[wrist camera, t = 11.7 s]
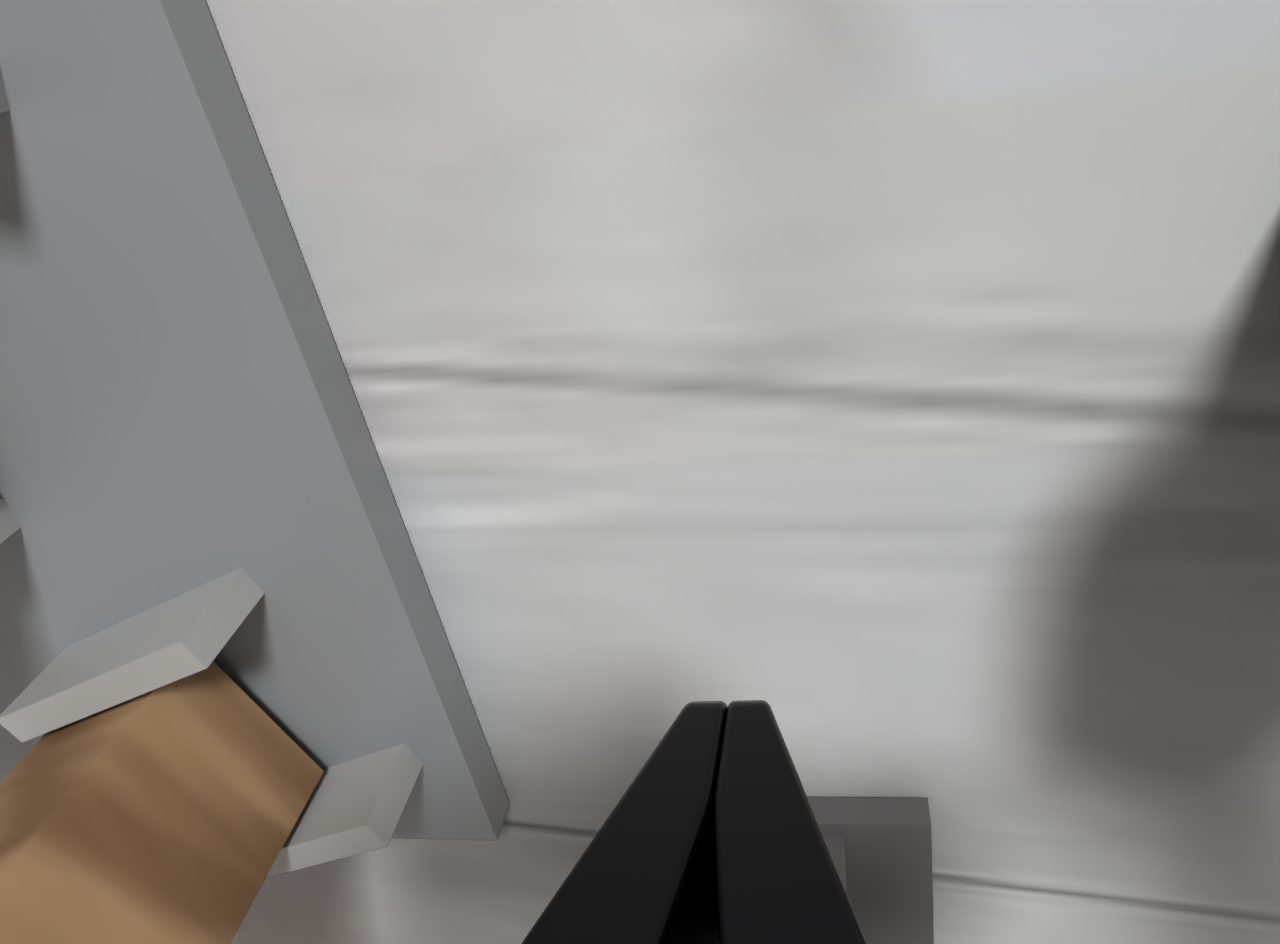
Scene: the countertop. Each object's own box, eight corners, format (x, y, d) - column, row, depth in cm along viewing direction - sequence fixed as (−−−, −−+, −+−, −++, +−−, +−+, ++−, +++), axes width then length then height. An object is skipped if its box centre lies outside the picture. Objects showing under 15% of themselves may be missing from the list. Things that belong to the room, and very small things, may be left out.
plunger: (193, 641, 27) (-277, 1221, 15) (323, 771, 29) (4, 1357, 18) (87, 685, 29) (-402, 1231, 17) (217, 804, 31) (-134, 1353, 20)
